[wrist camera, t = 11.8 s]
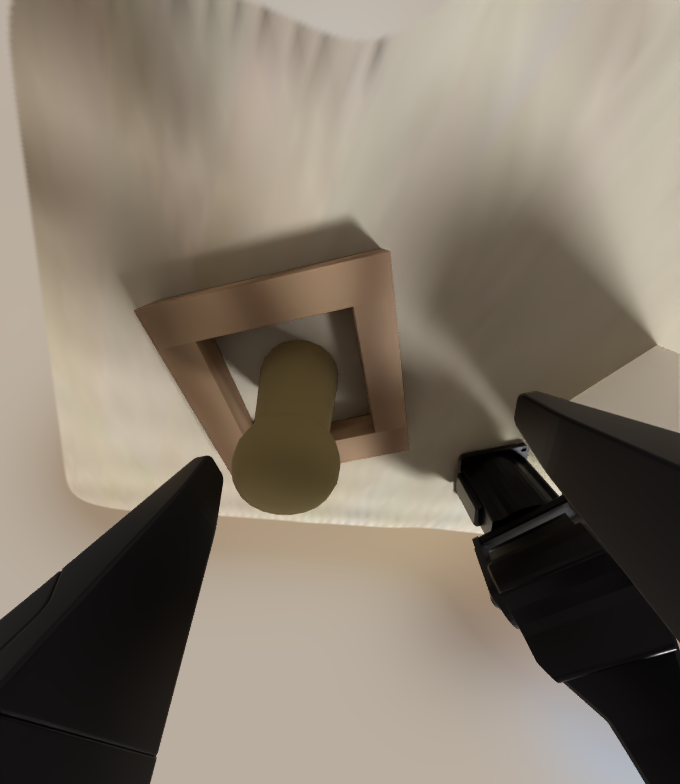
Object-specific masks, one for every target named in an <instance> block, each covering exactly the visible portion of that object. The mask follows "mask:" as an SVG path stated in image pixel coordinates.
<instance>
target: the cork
mask: <svg viewBox="0 0 680 784" xmlns="http://www.w3.org/2000/svg"><path fill="white" fill-rule="evenodd" d="M338 375H339V374H338V370H337V365H336V363H335V361H334V360H333V358H332V357H331V355H330V354H329V353H328V352H327V351H326V350H324V349H323V348H322V347H321V346H319V345H316V344H314V343H311V342H309V341H299V340H294V341H289V342H285V343H282V344H280V345H278V346H277V347H275V348H273V349H272V350H271V351H270V352H269V354H268V355H267V356H266V357H265V359H264V362H263V365H262V367H261V374H260V381H259V389H258V397H257V405H256V413H255V421H254V423H253V425H252V426H251V427H250V428H249V429H248V430H247V431H246V432H245V433H244V434H243V436H242V437H241V438H240V439H239V441H238V444H237V446H236V449H235V452H234V454H233V457H232V464H231V470H232V479H233V482H234V485H235V487H236V489H237V491H238V492H239V494H240V496H241V498H242V499H244V500H245V501H246V502H247V503H248V504H250V505H251V506H253V507H255V508H257V509H259V510H261V511H263V512H268V513H272V514H277V515H293V514H299V513H304V512H307V511H309V510H312V509H314V508H316V507H318V506H319V505H320V504H321V503H323V502H324V501H325V500H326V499H327V498H328V496H329V495H330V494H331V492H332V490H333V489H334V487H335V486H336V484H337V480H338V476H339V470H340V455H339V451H338V448H337V444H336V442H335V440H334V438H333V436H332V435H331V433H330V427H331V421H332V415H333V408H334V402H335V396H336V390H337V383H338Z"/></svg>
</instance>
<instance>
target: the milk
mask: <svg viewBox="0 0 680 784" xmlns="http://www.w3.org/2000/svg"><path fill="white" fill-rule="evenodd" d="M569 401H572V402H575V403H579V404H582V405H585V406H589V407H592V408H596V409H599V410H603V411H606V412H609V413H613V414H616V415H620V416H623V417H627V418H630V419H633V420H637V421H640V422H644V423H647V424H651V425H654V426H657V427H661V428H664V429H668V430H671V431H675V432H678V433H680V354H678V353H676V352H674V351H671V350H669V349H666V348H664V347H661V346H659V345H656V346H654V347H653V348H651V349H650V350H648V351H647V352H645V353H643V354H642V355H640V356H639V357H637V358H635V359H634V360H632V361H631V362H629V363H628V364H626V365H624V366H623V367H621V368H620V369H618V370H616V371H615V372H613V373H612V374H610V375H609V376H607V377H605V378H604V379H602V380H601V381H599V382H598V383H596V384H594V385H593V386H591V387H590V388H588V389H586V390H585V391H583V392H582V393H580V394H579V395H577V396H575V397H574V398H572V399H571V400H569Z"/></svg>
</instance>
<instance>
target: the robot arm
mask: <svg viewBox="0 0 680 784" xmlns="http://www.w3.org/2000/svg"><path fill="white" fill-rule="evenodd" d="M514 419H515V424H516V426H517V428H518V429H519V431H520V432H521V434H522V435H523V437H524V439H525V440H526V442H527V443H528V445H529V447H530V448H531V450H532V451H533V453H534V455H535V456H536V458H537V459H538V461H539V463H540V464H541V466H542V467H543V469H544V470H545V471H546V473H547V474H548V476H549V477H550V478H551V480H552V481H553V482H554V483H555V485H556V486H557V487H558V488H559V490H560V491H561V492H562V495H561V496H559V495H558V494H557V493H556V492H555V491H554V490H553V489H552V488H551V486H550V485H549V484H548V483H547V482H546V481H545V480H544V479H543V477H542V476H541V475H540V474H539V473H538V472H537V471H536V470H535V468H534V467H533V466H532V465H531V464H530V463H529V462H528V461H527V456H528V452H529V447H528V446H527V445H526V444H525V443H521V444H516V445H510V446H505V447H500V448H494V449H489V450H484V451H478V452H473V453H468V454H463V455H461V456H460V458H459V473H458V474H457V479H456V491H457V493H458V496H459V498H460V499H461V501H462V503H463V505H464V507H465V509H466V511H467V513H468V515H469V517H470V519H471V521H472V523H473V524H474V525H475V526H481V528H482V530H483V532H484V533H485V534H484V535H482V536H480V537H478V536H477V537H475V538H473V539H472V540H473V543H474V546H475V552H476V555H477V558H478V561H479V564H480V567H481V570H482V572H483V575H484V578H485V581H486V584H487V587H488V590H489V593H490V598H491V601H492V603H493V604H494V605H495V607H497V608H499V609H501V610H502V612H503V613H504V615H505V616H506V618H507V619H508V620H509V621H510V622H511V624H512V625H513V626H514V627H516V628H517V629H520V630H521V632H522V634H523V636H524V638H525V640H526V642H527V644H528V646H529V648H530V650H531V652H532V654H533V656H534V658H535V660H536V661H537V663H538V664H539V665H540V666H541V667H542V668H543V669H544V670H545V671H546V672H547V673H548V674H549V675H550V676H551V677H552V678H553V679H554V680H555V681H556V682H558V683H561V682H563V683H564V684H566V685H567V686H568V687H569V688H570V689H571V690H572V691H573V692H575V693H576V694H577V695H578V696H579V697H580V698H581V699H583V700H584V701H585V702H586V703H587V704H588V705H589V706H590V707H592V708H593V709H594V710H595V711H596V712H597V713H598V714H600V716H602V717H603V718H604V719H605V720H606V721H607V722H608V723H609V725H610V726H611V728H612V730H613V731H614V733H615V734H616V736H617V738H618V739H619V741H620V742H621V744H622V746H623V747H624V749H625V750H626V752H627V754H628V755H629V757H630V759H631V760H632V762H633V763H634V765H635V767H636V768H637V770H638V772H639V774H640V775H641V777H642V778H643V780H644V782H645V784H680V650H679V646H678V643H677V640H678V641H679V642H680V433H678V432H675V431H671V430H668V429H664V428H661V427H657V426H654V425H651V424H647V423H644V422H640V421H637V420H633V419H630V418H627V417H623V416H620V415H616V414H613V413H609V412H606V411H603V410H599V409H596V408H592V407H589V406H585V405H582V404H579V403H575V402H572V401H568V400H565V399H561V398H558V397H555V396H551V395H548V394H544V393H541V392H537V391H532V392H527V393H522V394H520V395H519V396H518V399H517V404H516V410H515V416H514ZM222 486H223V475H222V473H221V471H220V470H219V468H218V466H217V465H216V463H215V462H214V460H213V458H212V457H210V456H202V457H197V458H195V459H193V460H192V461H191V462H189V463H188V464H187V465H186V466H185V467H183V468H182V469H181V470H180V471H179V472H177V473H176V474H175V475H174V476H173V477H172V478H170V479H169V480H168V481H167V482H166V483H164V484H163V485H162V486H161V487H160V488H158V489H157V490H156V491H155V492H154V493H152V494H151V495H150V496H149V497H148V498H146V499H145V500H144V501H143V502H142V503H140V504H139V505H138V506H137V507H136V508H134V509H133V510H132V511H131V512H130V513H128V514H127V515H126V516H125V517H124V518H122V519H121V520H120V521H119V522H118V523H116V524H115V525H114V526H113V527H112V528H110V529H109V530H108V531H107V532H106V533H105V534H103V535H102V536H101V537H100V538H99V539H97V540H96V541H95V542H94V543H93V544H91V545H90V546H89V547H88V548H87V549H85V550H84V551H83V552H82V553H81V554H79V555H78V556H77V557H76V558H75V559H73V560H72V561H71V562H70V563H69V564H67V565H66V566H65V567H64V568H63V569H62V571H59V572H58V573H56V574H55V575H54V576H53V577H52V578H50V579H49V580H48V581H47V582H46V583H45V584H43V585H42V586H41V587H40V588H39V589H37V590H36V591H35V592H34V593H32V594H31V595H30V596H29V597H28V598H26V599H25V600H24V601H23V602H21V603H20V604H19V605H18V606H17V607H15V608H14V609H13V610H12V611H11V612H9V613H8V614H7V615H6V616H4V617H3V618H2V619H1V620H0V784H150V782H151V778H152V774H153V770H154V766H155V762H156V755H157V753H158V750H159V746H160V742H161V738H162V735H163V731H164V727H165V723H166V719H167V715H168V711H169V708H170V704H171V700H172V696H173V692H174V688H175V685H176V681H177V677H178V673H179V669H180V666H181V662H182V658H183V654H184V650H185V646H186V643H187V639H188V635H189V631H190V627H191V623H192V620H193V616H194V612H195V608H196V604H197V600H198V597H199V593H200V589H201V585H202V581H203V577H204V573H205V570H206V566H207V562H208V558H209V554H210V551H211V547H212V543H213V539H214V534H215V530H216V525H217V519H218V512H219V506H220V499H221V493H222ZM676 639H677V640H676Z"/></svg>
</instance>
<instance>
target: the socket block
mask: <svg viewBox="0 0 680 784" xmlns="http://www.w3.org/2000/svg"><path fill="white" fill-rule="evenodd" d="M349 307H351V308H352V313H353V319H354V324H355V330H356V335H357V341H358V347H359V352H360V358H361V363H362V369H363V375H364V380H365V386H366V391H367V397H368V402H369V408H370V415H365V416H360V417H355V418H350V419H345V420H340V421H335V422H331V427H330V433H331V435H332V436H333V438H334V440H335V442H336V444H337V448H338V451H339V455H340V463H343V462H349V461H354V460H359V459H364V458H370V457H375V456H380V455H385V454H391V453H396V452H401V451H406V450H409V443H408V432H407V422H406V412H405V401H404V391H403V380H402V370H401V359H400V349H399V339H398V328H397V318H396V307H395V297H394V286H393V276H392V265H391V255H390V251H388V250H384V249H378V250H373V251H369V252H365V253H360V254H356V255H352V256H347V257H343V258H339V259H335V260H330V261H326V262H322V263H317V264H313V265H309V266H304V267H300V268H296V269H291V270H287V271H283V272H279V273H274V274H270V275H266V276H261V277H257V278H253V279H248V280H244V281H240V282H236V283H231V284H227V285H223V286H218V287H214V288H210V289H205V290H201V291H197V292H193V293H188V294H184V295H180V296H175V297H171V298H167V299H162V300H158V301H155V302H153V303H150V304H148V305H146V306H143V307H141V308H139V309H136V310H134V312H135V313H136V315H137V317H138V318H139V320H140V322H141V323H142V325H143V327H144V328H145V330H146V332H147V333H148V335H149V337H150V339H151V340H152V342H153V344H154V345H155V347H156V349H157V350H158V352H159V354H160V355H161V357H162V359H163V360H164V362H165V364H166V365H167V367H168V369H169V370H170V372H171V374H172V376H173V377H174V379H175V381H176V382H177V384H178V386H179V387H180V389H181V391H182V392H183V394H184V396H185V397H186V399H187V401H188V402H189V404H190V406H191V408H192V409H193V411H194V413H195V414H196V416H197V418H198V419H199V421H200V423H201V424H202V426H203V428H204V429H205V431H206V433H207V434H208V436H209V438H210V439H211V441H212V443H213V445H214V446H215V448H216V450H217V451H218V453H219V455H220V456H221V458H222V460H223V461H224V463H225V465H226V466H227V468H228V470H229V471H230V473H231V475H232V470H231V464H232V457H233V454H234V452H235V449H236V446H237V444H238V441H239V439H240V438H241V437H242V436H243V434H244V433H245V432H246V431H247V430H248V429H249V428H250V427H251V426H252V425H253V421H252V419H251V417H250V415H249V412H248V410H247V408H246V406H245V404H244V402H243V400H242V397H241V395H240V393H239V391H238V389H237V387H236V385H235V382H234V380H233V378H232V376H231V374H230V372H229V370H228V367H227V365H226V363H225V361H224V359H223V357H222V355H221V352H220V350H219V348H218V346H217V344H216V342H215V340H214V337H219V336H223V335H228V334H232V333H237V332H241V331H246V330H250V329H255V328H259V327H264V326H268V325H273V324H277V323H282V322H286V321H291V320H295V319H300V318H304V317H309V316H313V315H318V314H322V313H327V312H331V311H336V310H340V309H345V308H349Z"/></svg>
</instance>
